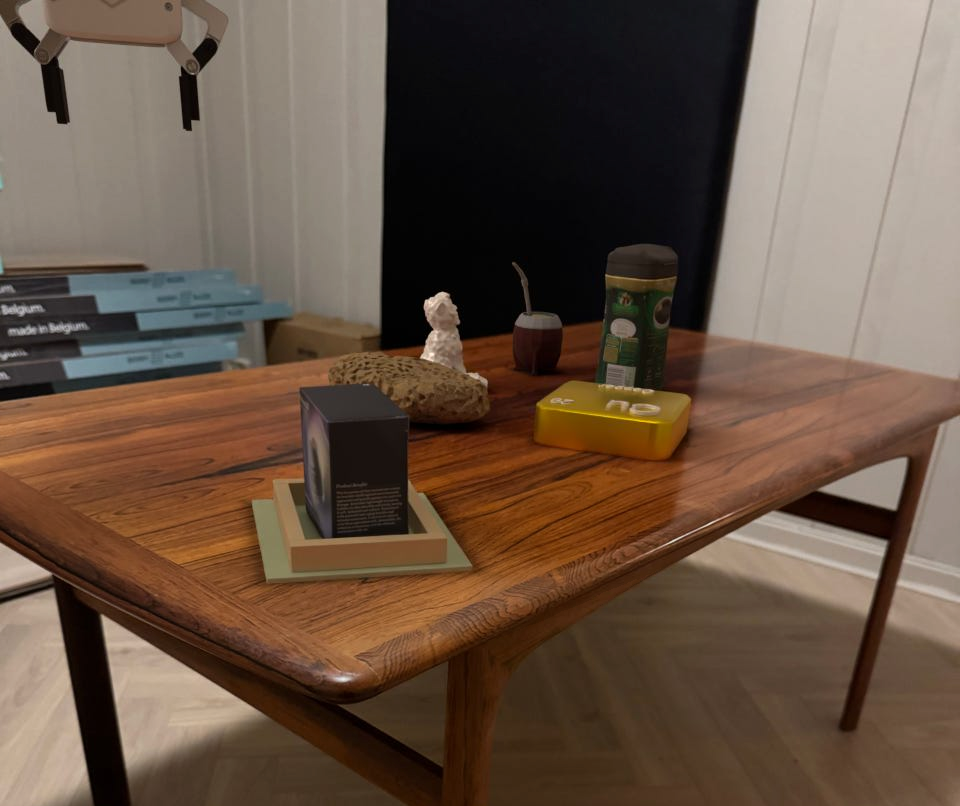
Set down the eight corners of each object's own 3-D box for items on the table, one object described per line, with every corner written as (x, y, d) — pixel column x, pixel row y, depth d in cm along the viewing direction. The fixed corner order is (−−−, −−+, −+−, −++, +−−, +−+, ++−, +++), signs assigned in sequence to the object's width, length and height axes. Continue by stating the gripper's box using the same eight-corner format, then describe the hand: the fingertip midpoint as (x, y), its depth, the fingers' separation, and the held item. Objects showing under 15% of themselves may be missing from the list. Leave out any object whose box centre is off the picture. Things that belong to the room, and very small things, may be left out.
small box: (299, 511, 79) (294, 383, 74) (376, 505, 81) (375, 381, 77) (327, 558, 71) (323, 417, 66) (412, 550, 73) (414, 413, 68)
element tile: (688, 431, 111) (695, 390, 109) (666, 465, 98) (673, 418, 96) (564, 415, 115) (568, 374, 113) (528, 445, 103) (531, 400, 100)
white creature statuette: (491, 395, 123) (496, 297, 117) (430, 399, 119) (432, 298, 114) (461, 379, 130) (464, 286, 125) (402, 382, 127) (403, 287, 121)
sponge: (317, 415, 114) (400, 419, 98) (320, 347, 113) (405, 340, 97) (411, 425, 122) (502, 430, 106) (416, 361, 120) (509, 357, 104)
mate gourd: (560, 369, 140) (569, 260, 133) (558, 380, 133) (568, 265, 126) (509, 365, 140) (516, 256, 133) (505, 377, 133) (512, 262, 126)
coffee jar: (618, 383, 133) (635, 239, 125) (670, 392, 129) (690, 245, 121) (583, 393, 126) (598, 242, 118) (637, 404, 122) (656, 248, 114)
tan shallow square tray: (267, 586, 67) (265, 552, 66) (251, 506, 81) (250, 477, 80) (472, 573, 71) (474, 540, 70) (423, 498, 85) (423, 470, 84)
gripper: (-41, -165, 65) (4, 120, 73) (221, -133, 69) (237, 133, 77) (-21, -139, 71) (18, 121, 79) (217, -110, 76) (233, 133, 84)
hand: (126, 127), depth 78 cm, fingers open, 9 cm apart
